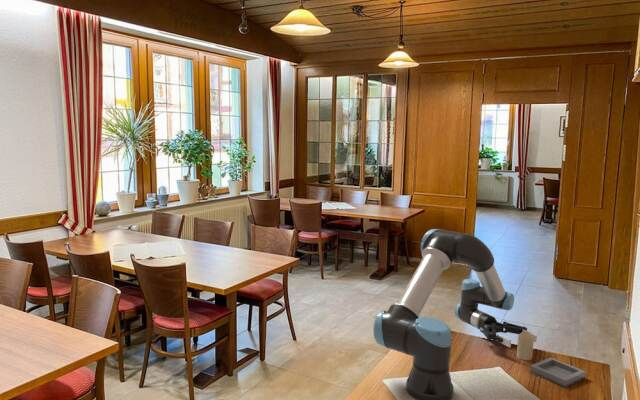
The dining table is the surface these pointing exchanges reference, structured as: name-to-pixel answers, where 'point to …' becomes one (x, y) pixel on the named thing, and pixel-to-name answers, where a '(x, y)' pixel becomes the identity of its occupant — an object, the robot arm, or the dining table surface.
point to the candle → (525, 346)
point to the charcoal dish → (557, 372)
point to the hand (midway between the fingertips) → (523, 341)
